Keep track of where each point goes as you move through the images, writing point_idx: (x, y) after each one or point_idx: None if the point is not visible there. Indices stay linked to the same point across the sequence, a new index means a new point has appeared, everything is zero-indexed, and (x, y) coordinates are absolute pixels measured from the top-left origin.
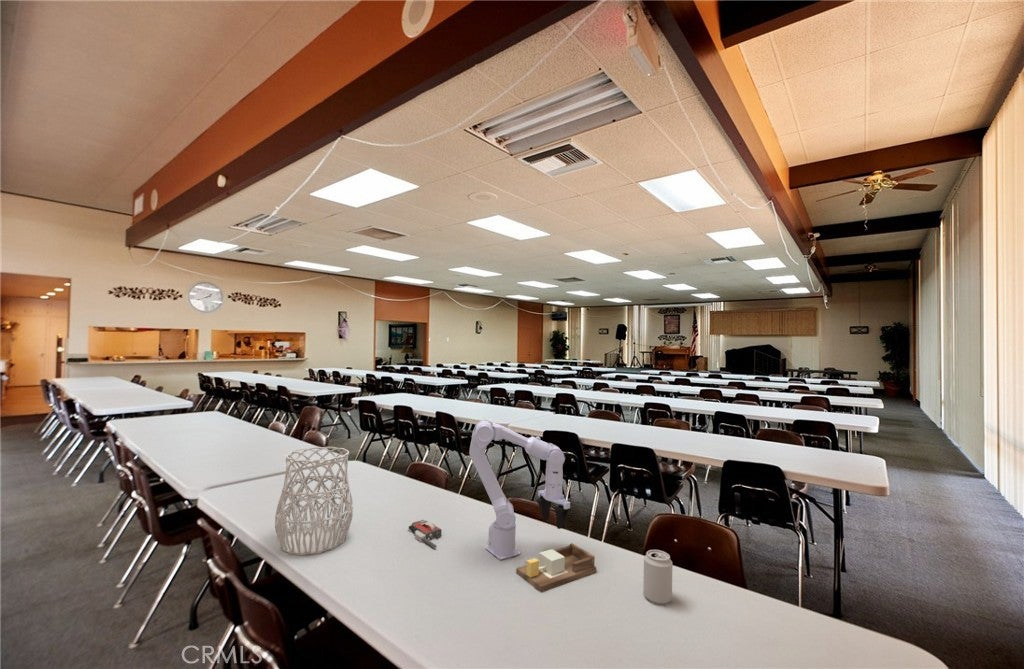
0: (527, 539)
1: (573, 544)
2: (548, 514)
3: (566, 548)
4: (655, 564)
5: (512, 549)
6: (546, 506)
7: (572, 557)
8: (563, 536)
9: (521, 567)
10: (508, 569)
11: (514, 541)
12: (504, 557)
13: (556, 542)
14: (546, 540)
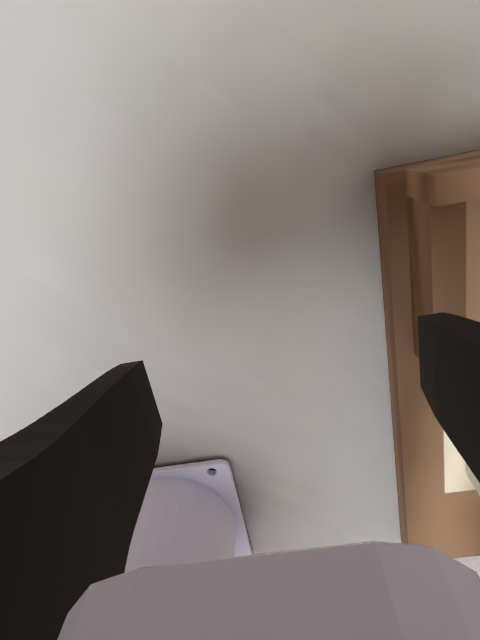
0: (27, 336)
1: (465, 175)
2: (121, 402)
3: (463, 264)
4: None
5: (227, 528)
6: (83, 539)
7: (476, 210)
8: (11, 11)
9: (415, 541)
10: None
11: (210, 550)
12: (247, 546)
13: (119, 149)
14: (67, 212)
